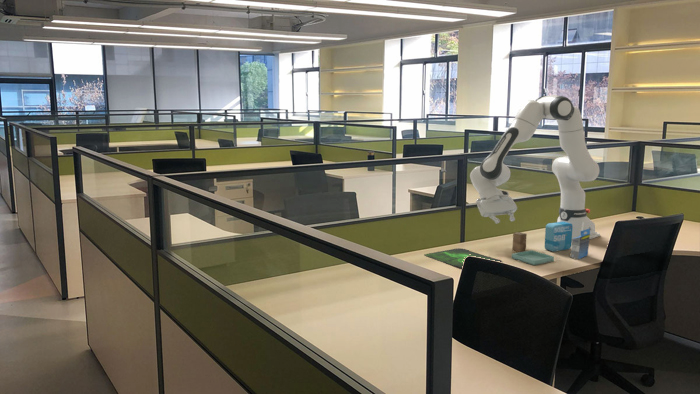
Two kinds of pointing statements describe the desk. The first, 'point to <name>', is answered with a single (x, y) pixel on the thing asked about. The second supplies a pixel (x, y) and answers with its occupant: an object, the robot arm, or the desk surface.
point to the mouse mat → (455, 256)
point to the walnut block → (519, 242)
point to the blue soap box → (558, 236)
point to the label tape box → (580, 245)
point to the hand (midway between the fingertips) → (505, 221)
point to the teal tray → (532, 257)
